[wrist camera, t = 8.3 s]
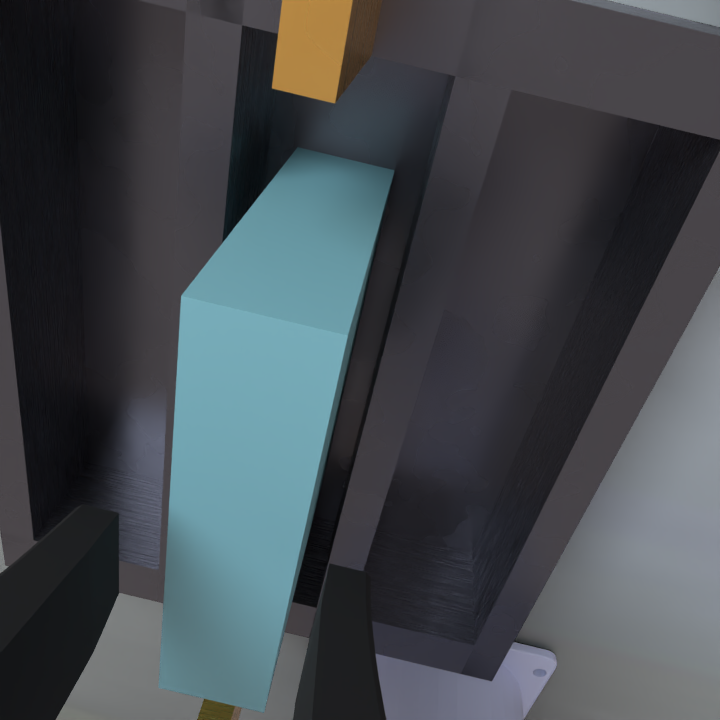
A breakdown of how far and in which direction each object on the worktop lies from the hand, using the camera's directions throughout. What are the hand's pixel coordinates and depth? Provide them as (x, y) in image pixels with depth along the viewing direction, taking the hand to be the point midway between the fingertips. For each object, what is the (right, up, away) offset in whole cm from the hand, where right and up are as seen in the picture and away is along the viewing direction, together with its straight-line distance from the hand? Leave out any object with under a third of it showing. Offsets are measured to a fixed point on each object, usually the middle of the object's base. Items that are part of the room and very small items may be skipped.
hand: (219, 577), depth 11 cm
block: (+1, +4, +8) cm, 9 cm away
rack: (+1, +5, +8) cm, 10 cm away
